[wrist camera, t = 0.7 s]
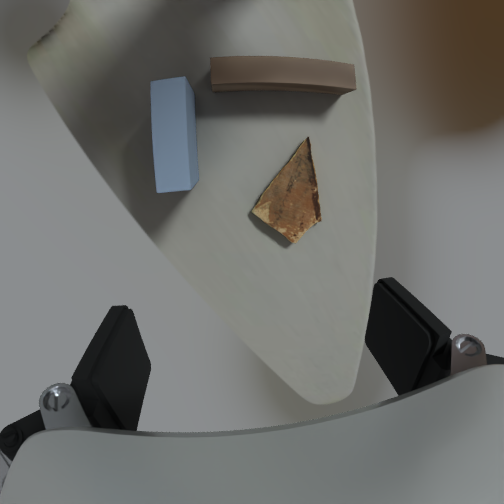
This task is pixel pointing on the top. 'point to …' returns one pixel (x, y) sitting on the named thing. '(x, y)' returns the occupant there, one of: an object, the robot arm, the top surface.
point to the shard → (292, 197)
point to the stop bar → (281, 74)
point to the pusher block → (174, 135)
